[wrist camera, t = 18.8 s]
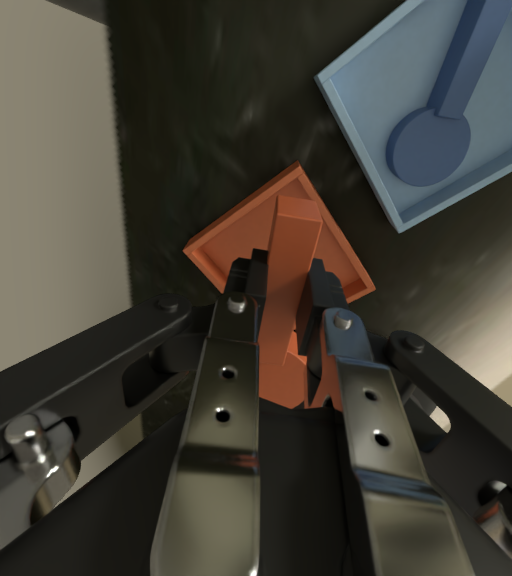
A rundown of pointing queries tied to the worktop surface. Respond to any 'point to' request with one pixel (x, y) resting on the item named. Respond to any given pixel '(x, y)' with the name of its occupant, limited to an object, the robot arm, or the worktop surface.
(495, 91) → the blue tray
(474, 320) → the worktop surface
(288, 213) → the orange disc-ended stick
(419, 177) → the blue spoon
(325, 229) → the terracotta tray
